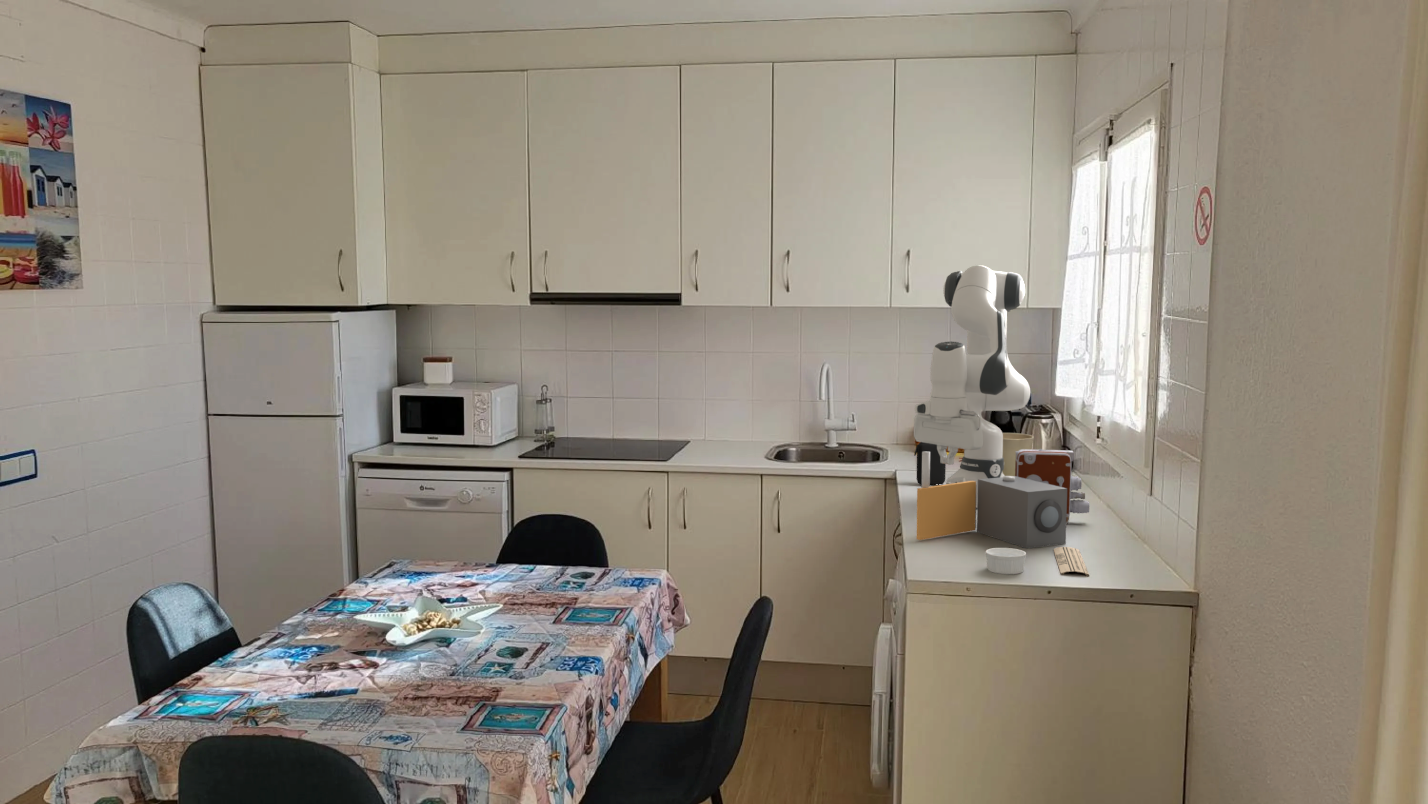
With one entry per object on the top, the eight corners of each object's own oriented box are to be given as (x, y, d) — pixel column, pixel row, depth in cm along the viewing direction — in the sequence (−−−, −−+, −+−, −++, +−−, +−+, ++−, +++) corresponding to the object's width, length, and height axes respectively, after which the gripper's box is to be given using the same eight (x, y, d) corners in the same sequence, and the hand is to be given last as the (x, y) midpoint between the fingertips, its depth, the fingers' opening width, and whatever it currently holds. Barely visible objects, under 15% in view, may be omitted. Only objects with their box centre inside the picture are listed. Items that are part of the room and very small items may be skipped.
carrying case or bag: (915, 486, 348) (916, 441, 347) (912, 485, 351) (912, 440, 350) (946, 485, 350) (947, 441, 348) (943, 484, 353) (944, 439, 351)
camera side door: (970, 528, 283) (971, 445, 281) (976, 529, 281) (978, 446, 279) (913, 538, 272) (914, 452, 269) (919, 539, 270) (921, 453, 268)
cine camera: (1090, 527, 286) (1093, 453, 285) (1015, 524, 290) (1017, 451, 288) (1086, 520, 295) (1088, 448, 293) (1013, 517, 299) (1014, 446, 297)
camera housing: (976, 531, 281) (978, 475, 280) (1014, 527, 286) (1015, 472, 284) (1029, 549, 262) (1031, 488, 260) (1068, 544, 266) (1070, 485, 265)
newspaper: (1089, 579, 236) (1089, 571, 236) (1055, 577, 238) (1055, 569, 238) (1079, 554, 259) (1079, 547, 259) (1048, 552, 261) (1048, 545, 261)
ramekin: (982, 573, 240) (983, 554, 239) (987, 564, 248) (987, 545, 247) (1024, 577, 236) (1024, 557, 236) (1027, 567, 245) (1027, 548, 244)
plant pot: (976, 483, 354) (977, 435, 352) (1002, 478, 364) (1003, 431, 362) (1015, 489, 343) (1016, 440, 341) (1041, 483, 352) (1042, 435, 351)
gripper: (989, 411, 257) (988, 468, 258) (927, 403, 273) (927, 457, 275) (970, 413, 253) (969, 470, 254) (909, 405, 270) (909, 459, 271)
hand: (947, 463), depth 265 cm, fingers closed
